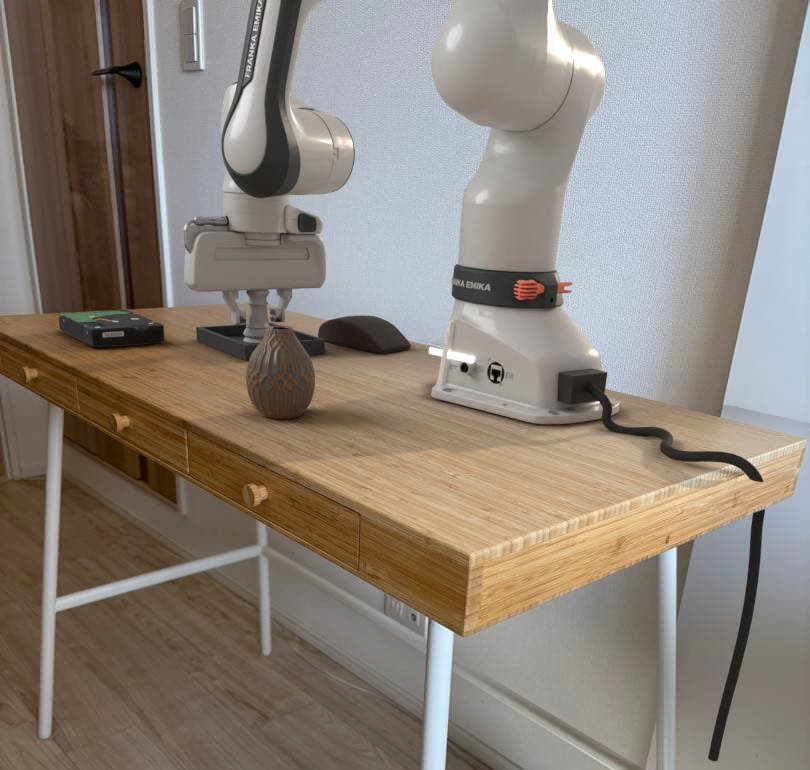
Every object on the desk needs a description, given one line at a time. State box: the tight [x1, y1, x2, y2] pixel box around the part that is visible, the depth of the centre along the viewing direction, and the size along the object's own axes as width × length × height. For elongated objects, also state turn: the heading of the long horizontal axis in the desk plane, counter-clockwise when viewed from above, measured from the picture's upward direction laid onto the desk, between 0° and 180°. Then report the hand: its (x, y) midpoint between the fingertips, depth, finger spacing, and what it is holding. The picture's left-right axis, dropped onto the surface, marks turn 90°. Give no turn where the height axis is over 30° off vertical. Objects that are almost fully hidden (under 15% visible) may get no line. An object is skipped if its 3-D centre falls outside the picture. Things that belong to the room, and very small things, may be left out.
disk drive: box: [57, 309, 166, 348], centre depth 118 cm, size 10×3×15 cm
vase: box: [245, 325, 316, 420], centre depth 84 cm, size 7×7×9 cm
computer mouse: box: [317, 315, 412, 355], centre depth 123 cm, size 8×14×4 cm, turn 49°
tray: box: [195, 322, 326, 362], centre depth 117 cm, size 15×12×2 cm
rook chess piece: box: [243, 290, 271, 344], centre depth 116 cm, size 4×4×8 cm
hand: (258, 322), depth 117 cm, fingers open, 5 cm apart
